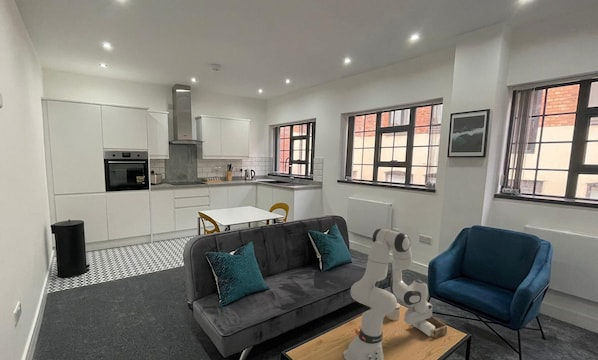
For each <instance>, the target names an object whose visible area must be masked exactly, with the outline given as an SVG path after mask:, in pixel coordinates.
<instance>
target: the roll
mask: <svg viewBox="0 0 598 360" xmlns="http://www.w3.org/2000/svg"><path fill="white" fill-rule="evenodd" d="M411 325H413V326H414V327H415V324H414V323H413V324H411ZM417 329H418V330H419V331H420V332H422V333H424V334H425V335H427V336H428V337H432V335H434V329H436V328H435V326H434V325H432V324H431V323H429V322H428V321H426V320H422V323H421V324H420V327H418V328H417Z"/></svg>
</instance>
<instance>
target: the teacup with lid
mask: <svg viewBox="0 0 598 360" xmlns="http://www.w3.org/2000/svg"><path fill="white" fill-rule="evenodd" d="M400 311H401V304H400V303H399V302H397V306H396V309H395V310H394V311H393V312H392V313H389V314H387V315H386V316H385V317H386V318H387V319H388V320H390V321H399V320H400V313H401V312H400Z"/></svg>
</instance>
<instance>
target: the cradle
mask: <svg viewBox="0 0 598 360" xmlns="http://www.w3.org/2000/svg"><path fill="white" fill-rule="evenodd" d="M425 320H426V321H428V322H429V323H431V324H432V325H434V326H435V329H434V334H433V335H432V336H431V337H432V338H434V339H437V338H441V337H444V336H446V335H447V334H448V326H447V325H446V323H444V322H443V321H441V320H439V319H438V318H437V317H435V316H433V315H432V316H431V318H428V319H425ZM440 336H441V337H440Z"/></svg>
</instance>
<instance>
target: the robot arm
mask: <svg viewBox="0 0 598 360" xmlns="http://www.w3.org/2000/svg"><path fill="white" fill-rule="evenodd" d="M390 251H391V252H392V261H391V265H390V266H391V283H390V287H389V290H390V291H388V290H386V289H383V288H380V287H377V286H376V284H377V282H381V281H383V280H385V279H386V278H387V276H388V269H389V263H390ZM412 265H413V253H412V248H411V239H410V237H409V236H408V235H407V234H405V233H404V232H399V231H395V230H393V229H392V230H391V229H387V228H386V229H385V228H377V229H376V230H375V231H374V232H373V233H372V244H371V246H370V248H369V252H368V256H367V263H366V269H365V271H364V275H363V277H361V279H359V280H358V281H355V283H353V284H352V285H351V288H350V296H351V298H352V299H353V300H354V301H356V302H357V303H359V304H362V305H364V306H367V307H369V308H370V309H371V310H370V309H369V310H366V311H364V312H363V314H362V315H361V326H360V329H359V330H358V329H355V331H354V333H355V334H356V335H357V336H356V337H355V338H354V339H352V341H351V342H349V344H348V347H347V349H345V350H344V351H343V353H342V355H343V358H344V359H345V360H384V358H385V355H384V349H383V342H382V341H383V323H384V318H385V317H386V315H387V314H389V313H392V312H393V311H394V310H395V309H396V306H397V303H398V301H397V298H398V299H399V300H400V301H402V302H403V303H404V304H406V305H408V306H410V307H409V308H407V309H406V311H405V312H404V318H403V320H404V323H405V324H407V325H408V326H409V325H412V324H413V323H414V324H415V326H414V327H415V328H416V329H418V327H420V324H421V323H422V320H425V319H428V318H431V316H433V305H432V304H431V303H430V302H429V301H427V299H428V294H429V293H428V292H429V291H428V290H429V289H428V284H427V283H426V282H425V281H423V280H421V279H414V280H413V282H412V283H411V284H409V285H408V284H406V283H405V282H404V280H403V278H402V277H403V273H402V271H404V270H407V269H409V268H411V266H412Z"/></svg>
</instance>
